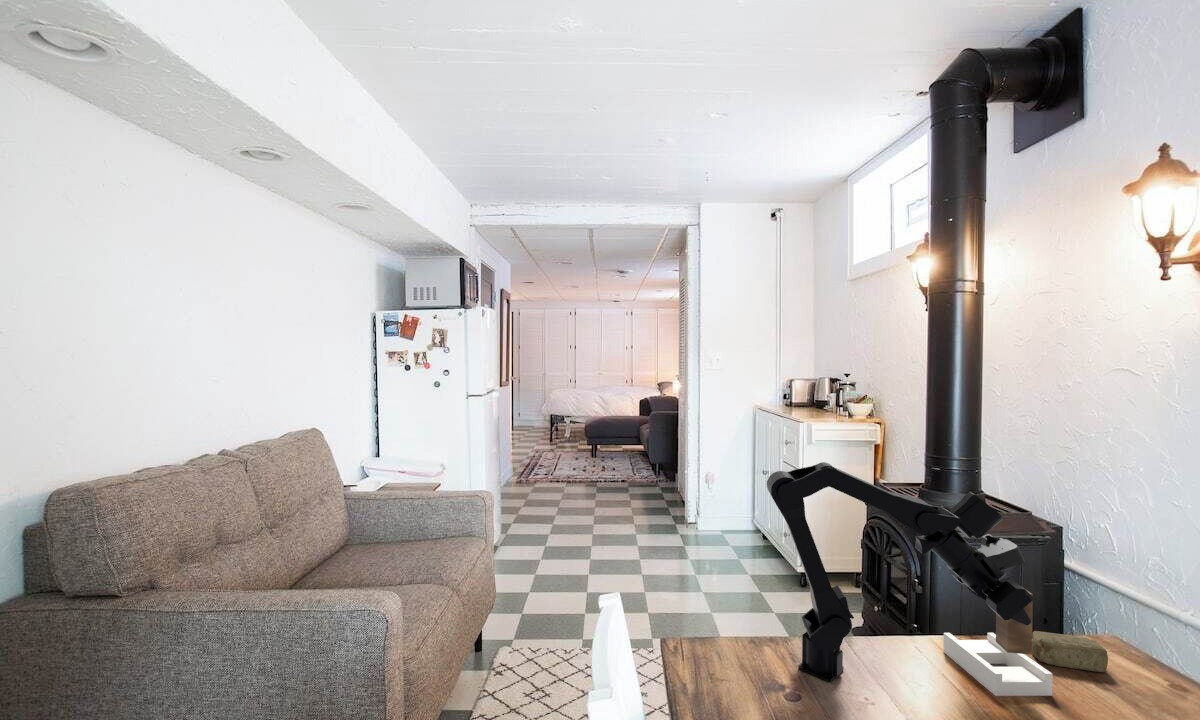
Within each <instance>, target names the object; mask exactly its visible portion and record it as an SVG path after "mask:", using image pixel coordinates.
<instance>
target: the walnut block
mask: <svg viewBox="0 0 1200 720" xmlns="http://www.w3.org/2000/svg"><path fill="white" fill-rule="evenodd" d="M1020 586H1021V587H1023V586H1022V585H1020ZM997 587H998V586H997ZM1024 589H1025V590H1026V591H1027V592H1028V593H1029V594H1030V595H1031V596H1032V597H1033V598H1034V594H1033V593H1031V592H1030V591H1029V590H1028V589H1026V588H1024ZM1033 601H1034V600H1033ZM1033 601H1032V602H1030V603H1029V604H1028V605H1027V606H1025V607H1024V610H1025V612H1026V613H1027V615H1028V617H1029V618H1030V620H1031V623H1030V624H1029V625H1024V624H1022V623H1020V622H1018V621H1015V620H1013V619H1009V620H1003V619H1002V618H1001V617H1000V616H999V615H998V614H996V613H995V634H996V642H997V643H998V644H999V645H1000V646H1001V647H1002V648H1003V649H1004V650H1005V651H1006V652H1007V653H1018V654H1025V655H1031V656H1033V654H1032V634H1033V615H1034V614H1033V611H1034V609H1033V607H1034V606H1033V605H1034V604H1033Z"/></svg>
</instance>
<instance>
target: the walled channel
mask: <svg viewBox="0 0 1200 720" xmlns="http://www.w3.org/2000/svg"><path fill="white" fill-rule="evenodd" d="M986 637H987V639H959V638H957V637H956V636H954V635H953V634H952V633H951V632H943V643H942V644H943V648H942V649H943V650H942V651H943V653H944V654H945V655H947V656H948V657H949V658H950V659H951V660H952V661H953V662H955V663H956V664H957V665H958V666H960V668H961V669H963V670H964V671H965V672H967V673H968V674H969V675H970V676H972V678H973V679H975V680H976V681H977V682H979V684H981V685H982V686H983V687H985V689H986V690H988V691H989V692H990V693H992V694H993V696H995V697H1012V696H1013V697H1031V696H1032V697H1034V696H1035V697H1036V696H1037V697H1041V696H1042V697H1043V696H1044V697H1048V696H1050V697H1051V696H1053V672H1051V671H1049V670H1048V669H1046V668H1045V667H1044V666H1042V665H1041V664H1039V663H1037V662H1036V661H1035V660H1033V659H1032V658H1030V657H1029V656H1028V655H1027V654H1018V653H1007V652H1006V651H1005V650H1004V649H1003V648H1002V647H1001V646H1000V645H999V644H998V643H997V642H996V633H994V632H987V634H986Z"/></svg>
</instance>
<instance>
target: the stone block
mask: <svg viewBox="0 0 1200 720" xmlns="http://www.w3.org/2000/svg"><path fill="white" fill-rule="evenodd" d="M1032 656H1033V657H1034V658H1036V659H1038V662H1042V663H1044V664H1046V665H1051V666H1056V667H1059V668H1060V667H1061V668H1067V669H1076V670H1080V671H1081V670H1082V671H1089V672H1097V673H1103V672H1106V671H1107V668H1108V664H1109V655H1108V651H1107V649H1106V648H1105V647H1104V646H1103V645H1101V644H1099V642H1098V641H1097V640H1094V639H1090V638H1087V637H1082V636H1075V635H1069V634H1062V633H1056V632H1055V633H1054V632H1047V631H1038V630H1034V631H1032Z"/></svg>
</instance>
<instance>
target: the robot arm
mask: <svg viewBox="0 0 1200 720" xmlns="http://www.w3.org/2000/svg"><path fill="white" fill-rule="evenodd" d="M766 487H767V491H768V492H769V494H770V497H771V498H772V500H773V502H774V503H775V505H776V506H777V509H778V510H779V512H780V514H781V515H782V517H783V519H784V520H785V522H786V525H787V528H788V530H789V534H790V536H791V538H792V542H793V544H794V546H795V549H796V552H797V554H798V558H799V560H800V562H801V565H802V567H803V568H802V569H803V571H804V572H805V573H804V574H805V576H806V578H807V581H808V584H809V591H810V602H811V605H812V607H811V608H810V609H809V610H808V611H807V612H805V613H804V614H803V615H802V616H801V620H802V623H803V626H804V629H806V631H805V632H804V633H803V634H802V635H801V637H802V638H801V640H802V643H801V646H802V647H801V649H802V650H801V662H800V663H799V664H798V665H797V669H798V670H800V671H803V672H805V673H807V674H810V675H811V676H813V677H816V678H819V679H821V680H824V681H826V682H827V683H829V682H832V681H833V680H834V679H835V678H836V677H838V676H839V675H840V674H841V673H842V672H843V671H844V669H845V668H844V666H843V664H844V663H843V662H844V659H843V657H844V656H843V655H844V654H843V650H842V649H841V645H842V643H843V640H844V639H845V637H847V636H848V635H850V633H851V630H853V623H852V620H853V619H855V617H854V615H853V613H852V611H851V610H850V609H849V602H848V600H847V597H846V595H845V594H844V592H843V591H842V589H841V587H840V586H839V584H837V585H835V586H833V587H832V584H831V582H830V580H829V577H828V574H827V572H826V569H825V566H824V563H823V561H822V557H821V555H820V552H819V550H818V548H817V545H816V543H815V540H814V537H813V534H812V531H811V529H810V526H809V524H808V521H807V519H806V517H807V516H806V509H805V508H806V507H805V500H804V498H807V497H808V498H809V497H810V496H812V495H814V494H816V493H818V492H820V491H822V490H823V489H826V488H832V489H834V490H835V491H838V492H840V493H842V494H845V495H847V496H849V497H852V498H854V499H856V500H858V501H861V502H862V503H865V504H867V505H869V506H871V507H873V508H876V509H878V510H880V511H882V512H885V513H886V514H888V515H889V516H891V517H892V518H893V519H895V520H896V521H898V522H899V523H901V524H902V525H904V526H905V527H906V528H908V529H910V530H911V531H912V532H914V533H915V534H918V535H916V536H915V545H914V547H915V549H916V550H917V551H918V552H920V553H921V554H922V555H926V554H928V553H929V552H930V551H932V552H933V553H934V554H936V556H937V557H938V558H939V559H940V560H941V561H942V562H943V563H944V564H945V566H947V568H948V569H949V574H950V575H951V576H953V578H954V579H955V580H956V581H957V582H958V583H960V584H961V585H965V586H966V587H967V590H968V591H969V592H970V593H972V594H973V595H974V596H977V597H978V598H981V600H982V599H983V600H984V601H986V605H987V606H988V607H989V608H990V609H991V610H992V611H993V612H994V613H995V615H996V614H998V615H999V616H1000V617H1001V618H1002V619H1003V620H1009V619H1013V620H1015V621H1018V622H1020V623H1022V624H1024V625H1029V624H1030V623H1031V620H1030V618H1029V617H1028V615H1027V613H1026V612H1025V610H1024V607H1025V606H1027V605H1028V604H1029V603H1030V602H1032V601H1034V596H1033V597H1032V596H1031V595H1030V594H1029V593H1028V592H1027V591H1028V590H1027V589H1026V588H1025V587H1023V586H1022V585H1019V584H1018V583H1017V582H1015V581H1013V580H1004V581H1001V580H1000V578H1001V577H1003V576H1004V575H1005V572H1003V570H1007V569H1009V568H1012V567H1015V566H1022V565H1023V564H1025V563H1026V560H1025V559H1024V556H1023V554H1022V553H1021V550H1020V548H1019V546H1018V545H1017V544H1016V543H1014V542H1012V541H1010V540H1009V539H1004V538H1002V537H1000V538H998V539H999V540H998V539H997V538H996V537H995V536H993V535H991V534H990V533H989V532H990V531H991V530H992V529H993V528H994V527H996V526H998V524H999V523H1001V522H1002V521H1003V520H1004V517H1003V516H1002V515H1001V514H1000V513H999V512H998V511H997V509H995V508H994V507H992V506H990V505H989V504H988V503H987V502H986V501H984V500H983V499H981V498H980V497H979V496H978V495H977V494H975V493H973V492H971V491H968V492H967V493H966V494H965V495H964V496H963V498H962V499H960V501H958V502H957V503H955V505H953V507H951V508H950V509H949V510H947V509H946V508H944V507H943V506H937V505H931V504H928V503H927V502H926V501H924V500H923V499H921V498H918V497H915V496H911V495H908V494H904V493H903V494H902V493H897V492H893V491H888V490H886V489H884V488H881V487H879V486H877V485H875V484H873V483H870V482H868V481H866V480H863V479H861V478H859V477H857V476H855V475H852V474H850V473H848V472H845V471H843V470H842V469H840V468H837V467H834V466H833V465H832V464H831V463H829V462H825V461H821V462H819V463H816V464H814V465H811V466H805V467H800V468H795V469H793V470H790V471H785V470H784V471H783V470H777V471H775V472H773V473H772V474H771V475H769V476H768V478H767V480H766ZM956 528H957V530H958V531H959V532H961V533H962V534H963V535H964V536H965V537H967V538H968V539H972V538H974V539H976V540H978V539H979V540H980V539H981V544H980V545H979V546H980V548H978V549H977V548H976V547H975V546H974V545H972V544H970V543H969V542H968V541H967V540H966V539H965V538H964V537H963V536H962V535H961V534H960V533H959V532H958V531H957V530H956ZM997 586H998V587H997ZM1021 586H1022V587H1021ZM1025 589H1026V590H1027V591H1026V590H1025Z"/></svg>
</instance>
